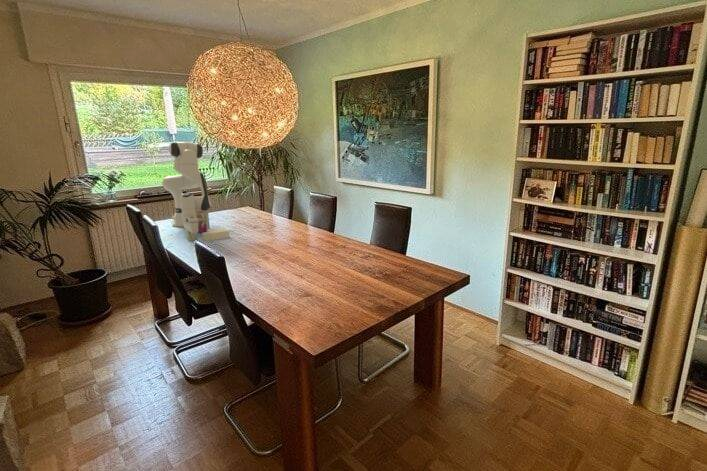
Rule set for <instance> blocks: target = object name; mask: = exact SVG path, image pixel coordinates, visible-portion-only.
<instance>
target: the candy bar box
mask: <svg viewBox="0 0 707 471" xmlns="http://www.w3.org/2000/svg"><path fill="white" fill-rule="evenodd" d="M195 211H196V216H197V218H198V233H204V232H207V229H211V228H210V226H211V225H210V217H209V209H208V210H207V211H206V210H195Z"/></svg>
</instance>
